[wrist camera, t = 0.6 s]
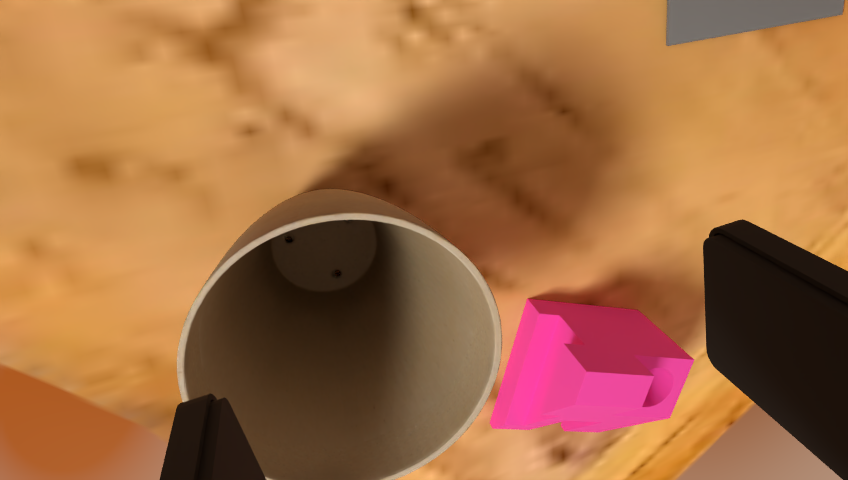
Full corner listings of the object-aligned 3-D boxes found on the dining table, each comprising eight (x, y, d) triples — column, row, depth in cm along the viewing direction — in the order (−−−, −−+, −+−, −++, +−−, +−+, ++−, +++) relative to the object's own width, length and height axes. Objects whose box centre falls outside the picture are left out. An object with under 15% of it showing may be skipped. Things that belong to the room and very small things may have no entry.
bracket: (526, 297, 48) (586, 371, 39) (637, 309, 51) (717, 380, 41) (489, 422, 52) (535, 515, 42) (593, 425, 55) (658, 514, 45)
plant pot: (464, 259, 45) (551, 384, 31) (300, 366, 46) (309, 539, 31) (355, 88, 39) (400, 145, 24) (164, 215, 39) (97, 345, 25)
